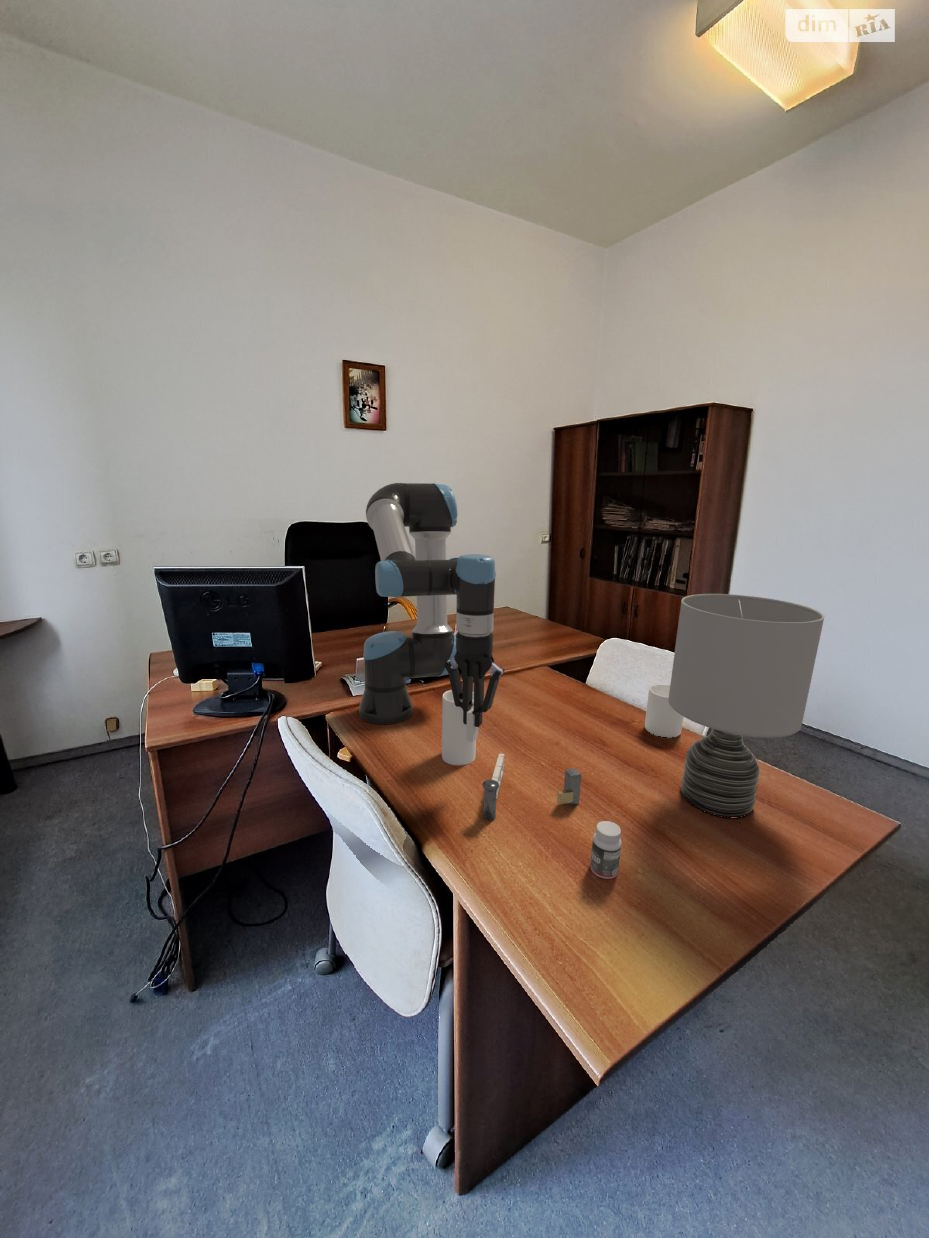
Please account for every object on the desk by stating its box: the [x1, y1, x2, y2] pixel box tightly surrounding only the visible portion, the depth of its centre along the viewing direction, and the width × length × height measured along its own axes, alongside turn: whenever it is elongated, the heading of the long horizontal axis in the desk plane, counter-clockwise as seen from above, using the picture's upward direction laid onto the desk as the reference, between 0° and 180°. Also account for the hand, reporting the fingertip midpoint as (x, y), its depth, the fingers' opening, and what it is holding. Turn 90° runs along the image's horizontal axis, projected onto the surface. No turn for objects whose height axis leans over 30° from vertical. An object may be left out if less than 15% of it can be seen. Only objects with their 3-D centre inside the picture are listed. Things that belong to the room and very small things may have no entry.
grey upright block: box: [556, 768, 582, 807], centre depth 104 cm, size 3×5×7 cm, turn 108°
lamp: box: [668, 593, 825, 819], centre depth 102 cm, size 24×24×42 cm
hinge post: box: [482, 779, 500, 822], centre depth 99 cm, size 3×3×7 cm
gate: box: [491, 753, 505, 800], centre depth 108 cm, size 14×1×5 cm, turn 168°
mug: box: [644, 684, 685, 739], centre depth 138 cm, size 10×12×12 cm
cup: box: [441, 689, 477, 766], centre depth 121 cm, size 8×8×16 cm
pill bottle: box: [589, 820, 622, 880], centre depth 86 cm, size 5×5×8 cm
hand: (472, 738), depth 107 cm, fingers closed
